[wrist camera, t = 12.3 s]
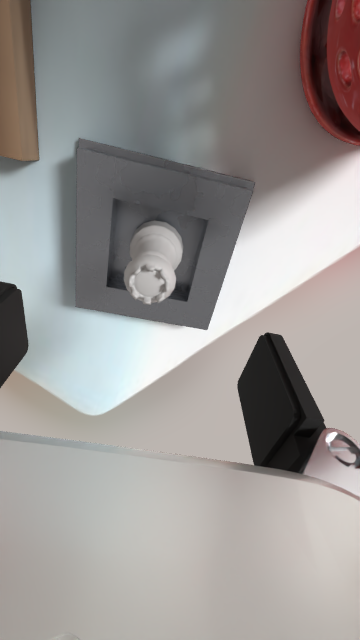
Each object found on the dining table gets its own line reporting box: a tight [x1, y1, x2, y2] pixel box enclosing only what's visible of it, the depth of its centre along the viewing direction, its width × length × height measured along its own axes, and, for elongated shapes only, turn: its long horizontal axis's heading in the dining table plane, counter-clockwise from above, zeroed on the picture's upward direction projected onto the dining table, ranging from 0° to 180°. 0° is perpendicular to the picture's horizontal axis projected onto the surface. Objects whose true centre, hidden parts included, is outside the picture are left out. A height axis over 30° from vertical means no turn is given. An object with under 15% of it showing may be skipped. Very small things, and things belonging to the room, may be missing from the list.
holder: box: [76, 138, 255, 330], centre depth 22 cm, size 13×13×2 cm
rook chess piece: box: [124, 220, 184, 305], centre depth 19 cm, size 4×4×8 cm
